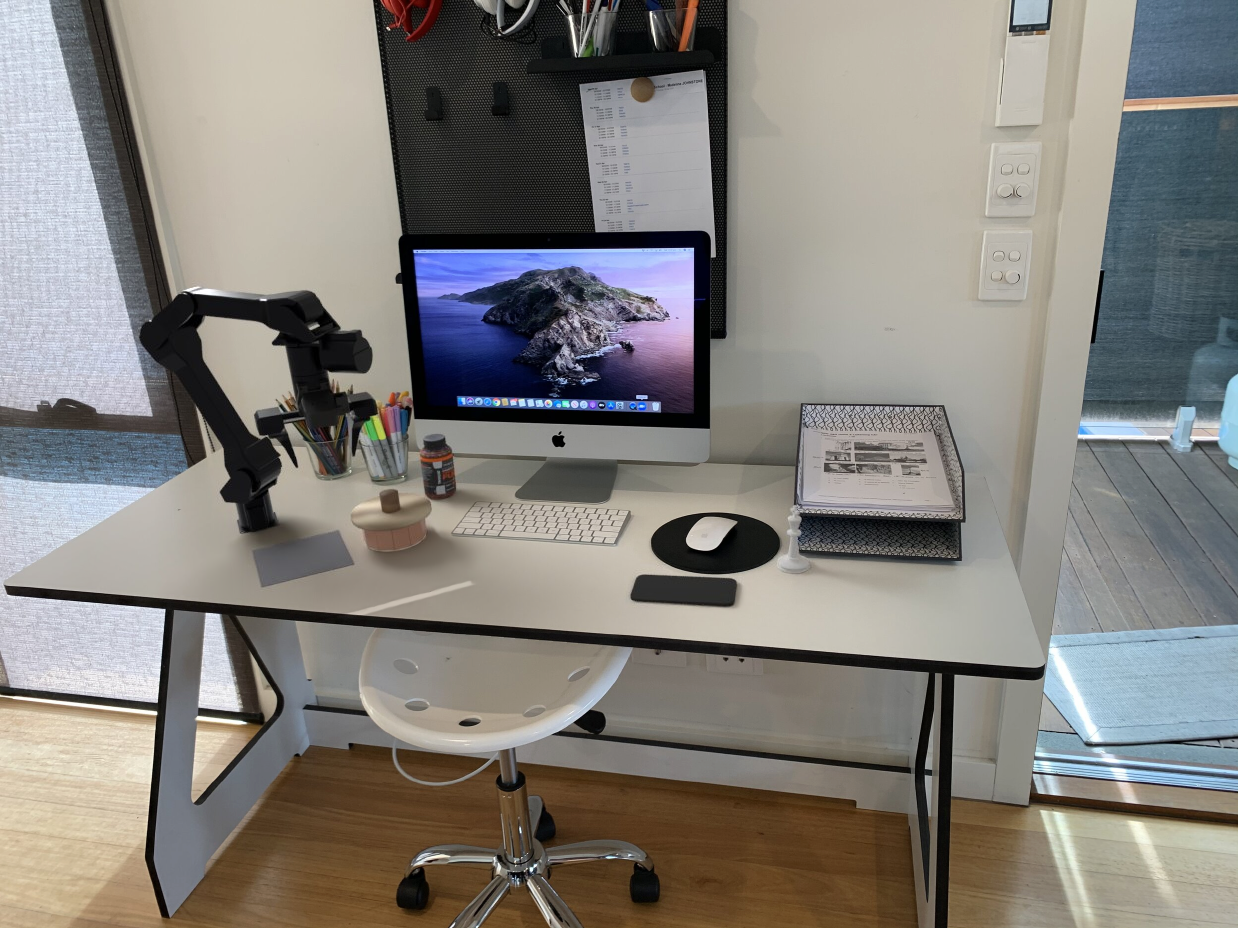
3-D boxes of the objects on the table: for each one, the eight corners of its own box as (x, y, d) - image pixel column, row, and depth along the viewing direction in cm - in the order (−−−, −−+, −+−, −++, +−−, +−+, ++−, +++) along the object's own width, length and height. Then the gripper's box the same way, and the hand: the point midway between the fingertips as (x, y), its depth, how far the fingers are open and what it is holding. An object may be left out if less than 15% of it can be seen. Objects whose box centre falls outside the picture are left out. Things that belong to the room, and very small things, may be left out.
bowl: (360, 535, 152) (355, 509, 151) (417, 522, 156) (414, 496, 154) (372, 559, 144) (368, 532, 142) (433, 544, 148) (429, 517, 146)
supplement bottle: (450, 500, 164) (442, 443, 160) (419, 499, 165) (411, 442, 161) (461, 487, 170) (455, 431, 165) (432, 486, 171) (424, 431, 167)
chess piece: (790, 576, 133) (792, 515, 129) (770, 563, 137) (771, 504, 133) (816, 568, 135) (819, 507, 131) (796, 555, 139) (797, 496, 135)
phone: (637, 573, 135) (737, 577, 132) (637, 578, 136) (737, 582, 133) (628, 599, 129) (733, 604, 126) (629, 604, 129) (733, 609, 126)
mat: (252, 553, 148) (252, 550, 148) (339, 533, 154) (338, 530, 154) (262, 590, 136) (261, 586, 136) (355, 567, 142) (354, 563, 142)
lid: (344, 508, 151) (340, 487, 150) (420, 491, 156) (417, 471, 155) (360, 538, 140) (356, 516, 139) (441, 519, 145) (438, 497, 144)
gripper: (252, 394, 133) (272, 490, 139) (378, 374, 141) (392, 465, 147) (245, 376, 143) (264, 467, 149) (363, 358, 150) (377, 445, 156)
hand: (325, 461), depth 150 cm, fingers open, 9 cm apart
